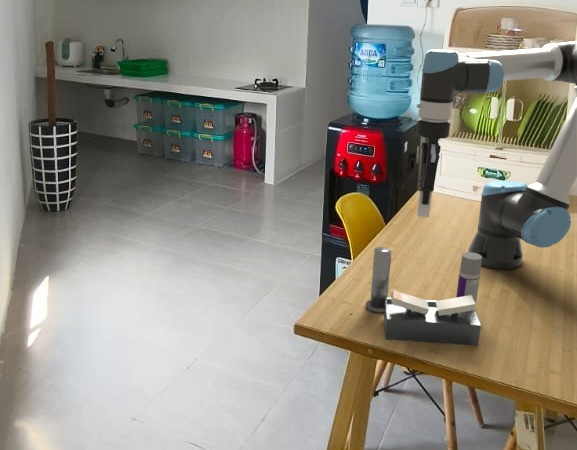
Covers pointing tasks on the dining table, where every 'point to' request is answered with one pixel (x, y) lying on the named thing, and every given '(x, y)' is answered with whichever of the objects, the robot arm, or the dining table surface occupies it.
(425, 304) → the paddle
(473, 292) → the container
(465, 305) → the paddle
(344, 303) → the dining table surface
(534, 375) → the dining table surface
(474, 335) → the grey channel rail
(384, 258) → the post
